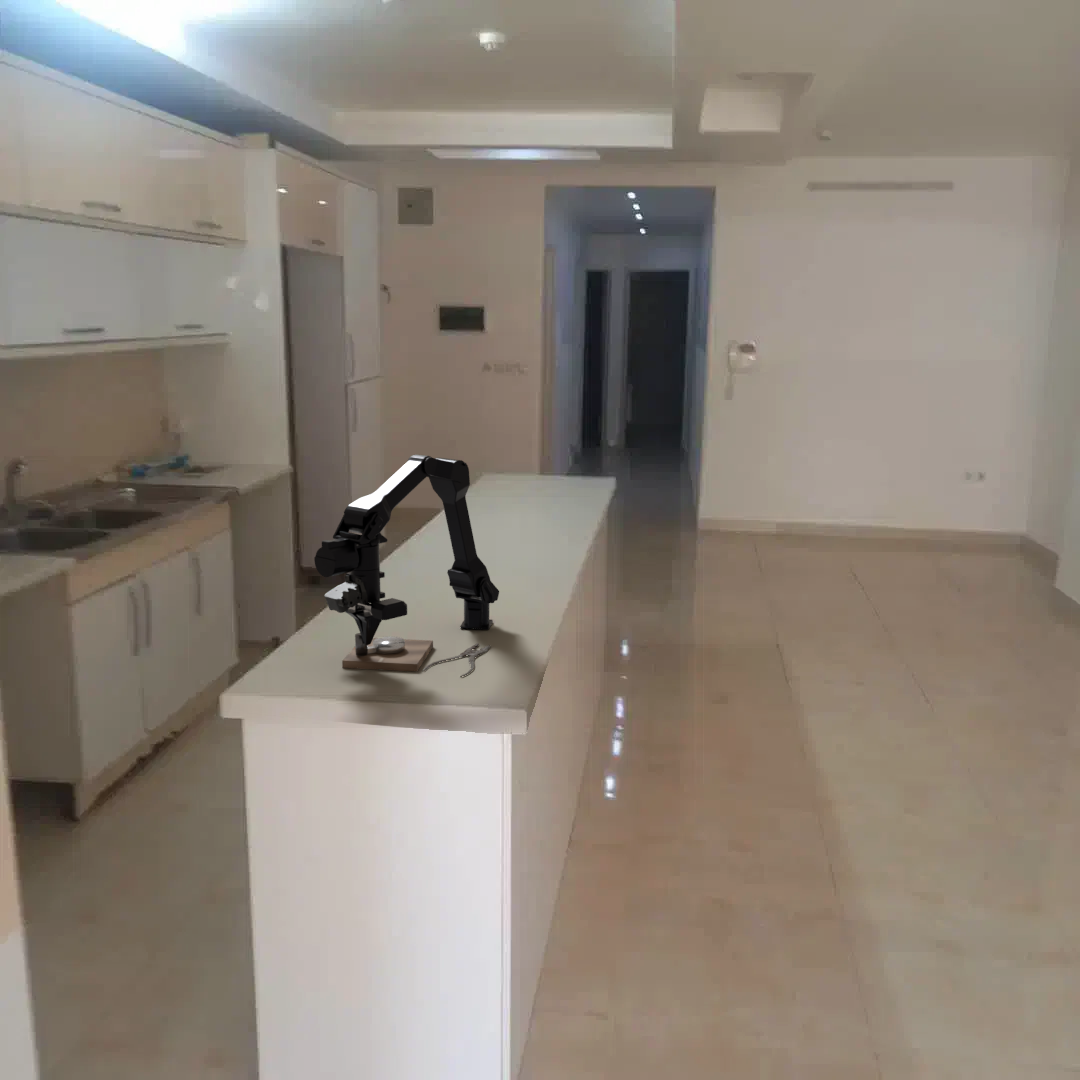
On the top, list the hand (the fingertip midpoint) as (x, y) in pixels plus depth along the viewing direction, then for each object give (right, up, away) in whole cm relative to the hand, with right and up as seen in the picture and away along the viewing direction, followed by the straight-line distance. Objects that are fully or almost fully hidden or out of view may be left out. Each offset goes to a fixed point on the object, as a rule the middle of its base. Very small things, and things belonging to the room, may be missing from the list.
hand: (367, 644), depth 201 cm
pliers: (+17, -4, +5) cm, 18 cm away
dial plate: (+3, -3, +6) cm, 7 cm away
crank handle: (+2, -2, +4) cm, 5 cm away
